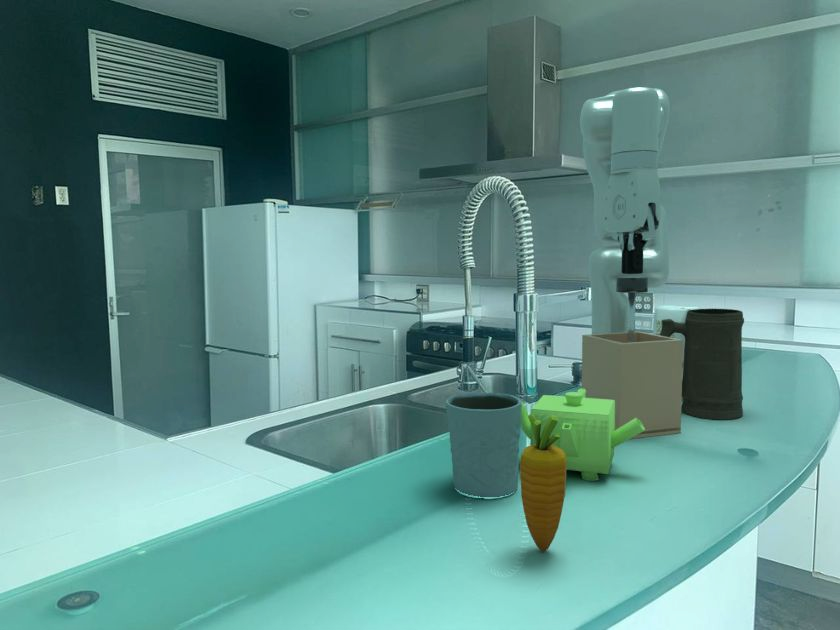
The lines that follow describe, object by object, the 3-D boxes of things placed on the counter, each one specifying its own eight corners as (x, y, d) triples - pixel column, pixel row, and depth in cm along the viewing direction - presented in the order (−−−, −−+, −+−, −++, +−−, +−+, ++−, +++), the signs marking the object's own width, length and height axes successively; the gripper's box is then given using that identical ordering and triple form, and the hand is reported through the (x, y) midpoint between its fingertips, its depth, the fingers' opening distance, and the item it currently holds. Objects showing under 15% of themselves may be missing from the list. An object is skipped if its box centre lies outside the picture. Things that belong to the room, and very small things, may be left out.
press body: (574, 418, 120) (575, 333, 118) (630, 412, 123) (631, 329, 121) (619, 439, 106) (621, 344, 104) (680, 432, 109) (683, 340, 108)
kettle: (502, 461, 97) (502, 388, 95) (577, 447, 103) (578, 378, 101) (565, 495, 83) (566, 410, 82) (647, 477, 89) (649, 398, 88)
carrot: (514, 541, 70) (514, 408, 69) (558, 539, 71) (559, 406, 69) (525, 564, 65) (526, 420, 64) (573, 561, 66) (574, 418, 64)
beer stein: (734, 405, 127) (730, 305, 125) (757, 420, 116) (753, 310, 114) (654, 410, 128) (649, 311, 126) (669, 424, 118) (664, 317, 116)
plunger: (593, 362, 115) (594, 277, 114) (637, 359, 118) (638, 275, 116) (622, 372, 106) (624, 279, 105) (669, 368, 109) (672, 278, 107)
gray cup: (504, 507, 79) (504, 413, 78) (433, 493, 84) (431, 404, 83) (532, 480, 88) (532, 395, 87) (465, 469, 93) (465, 388, 92)
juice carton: (663, 389, 142) (665, 304, 140) (703, 395, 136) (705, 306, 134) (647, 395, 136) (649, 306, 134) (688, 401, 130) (690, 309, 128)
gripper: (590, 170, 115) (589, 272, 116) (642, 158, 100) (639, 275, 102) (627, 170, 117) (625, 271, 119) (682, 159, 102) (679, 274, 104)
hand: (632, 273), depth 110 cm, fingers closed
